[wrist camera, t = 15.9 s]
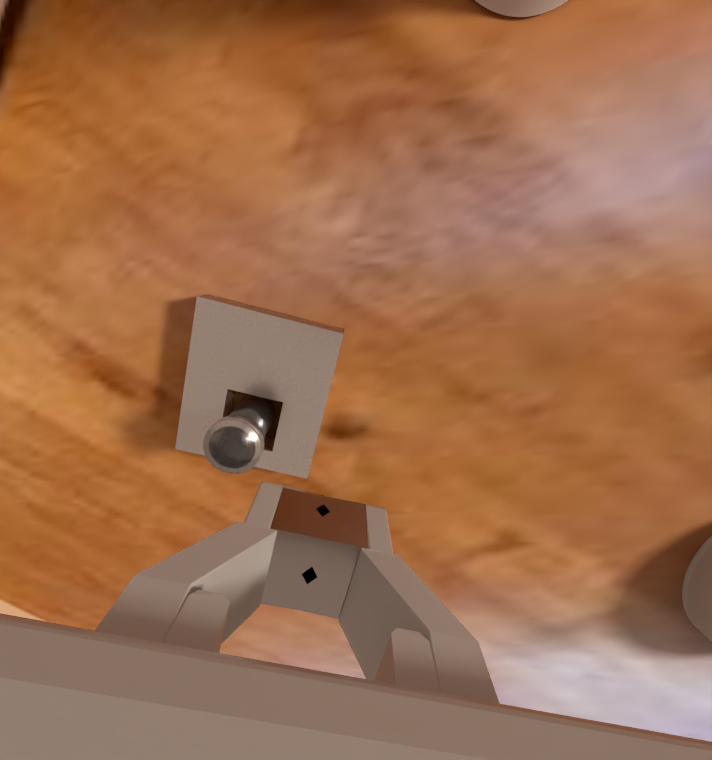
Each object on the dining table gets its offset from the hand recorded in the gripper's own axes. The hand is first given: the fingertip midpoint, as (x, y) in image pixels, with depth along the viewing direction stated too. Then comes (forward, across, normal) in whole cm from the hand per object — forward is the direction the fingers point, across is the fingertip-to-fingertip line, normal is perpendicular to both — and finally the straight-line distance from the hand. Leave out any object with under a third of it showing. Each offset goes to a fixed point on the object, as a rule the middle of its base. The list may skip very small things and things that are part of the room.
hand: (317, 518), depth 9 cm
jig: (+31, +7, +8) cm, 33 cm away
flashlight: (+31, +7, +11) cm, 34 cm away
